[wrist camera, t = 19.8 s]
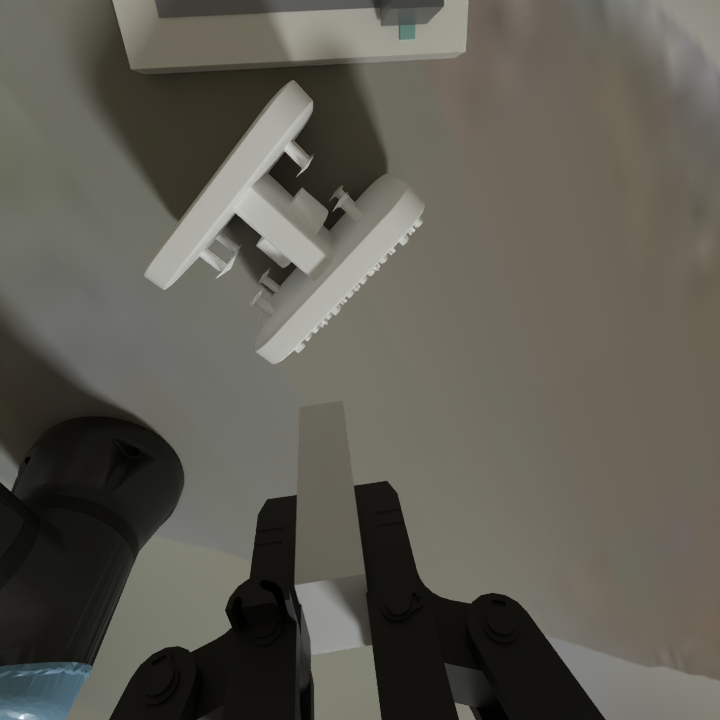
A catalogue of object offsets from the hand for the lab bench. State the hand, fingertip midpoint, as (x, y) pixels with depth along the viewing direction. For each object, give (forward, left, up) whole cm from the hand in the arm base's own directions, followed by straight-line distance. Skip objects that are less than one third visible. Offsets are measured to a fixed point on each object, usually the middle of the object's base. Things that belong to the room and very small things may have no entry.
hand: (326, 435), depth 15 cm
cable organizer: (-2, +4, -24) cm, 25 cm away
